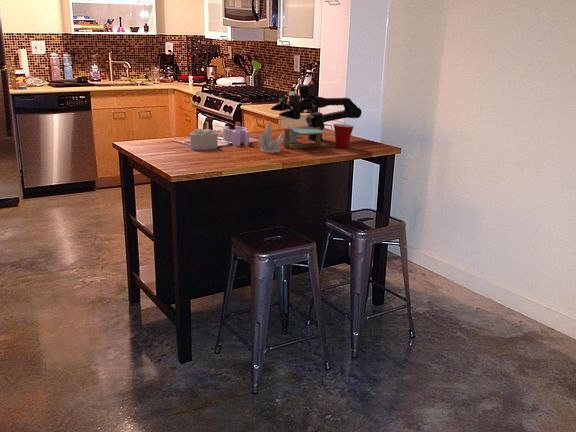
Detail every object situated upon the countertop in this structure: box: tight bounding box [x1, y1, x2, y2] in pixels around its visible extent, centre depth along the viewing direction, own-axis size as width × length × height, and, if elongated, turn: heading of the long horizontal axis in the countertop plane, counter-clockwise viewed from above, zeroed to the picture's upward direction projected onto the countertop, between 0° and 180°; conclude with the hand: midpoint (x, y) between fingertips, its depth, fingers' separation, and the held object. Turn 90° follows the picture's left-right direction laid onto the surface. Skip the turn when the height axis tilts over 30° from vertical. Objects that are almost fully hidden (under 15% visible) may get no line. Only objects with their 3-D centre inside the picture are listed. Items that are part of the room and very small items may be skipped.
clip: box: [222, 125, 250, 147], centre depth 287 cm, size 20×12×7 cm, turn 24°
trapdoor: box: [286, 125, 327, 136], centre depth 278 cm, size 16×14×4 cm
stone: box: [289, 135, 298, 144], centre depth 294 cm, size 5×5×5 cm
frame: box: [283, 127, 323, 149], centre depth 281 cm, size 2×20×10 cm, turn 116°
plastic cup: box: [333, 123, 355, 149], centre depth 284 cm, size 11×11×12 cm
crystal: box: [257, 120, 284, 154], centre depth 269 cm, size 10×13×15 cm
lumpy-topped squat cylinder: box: [189, 128, 219, 151], centre depth 270 cm, size 10×13×9 cm
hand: (275, 111), depth 288 cm, fingers open, 9 cm apart
